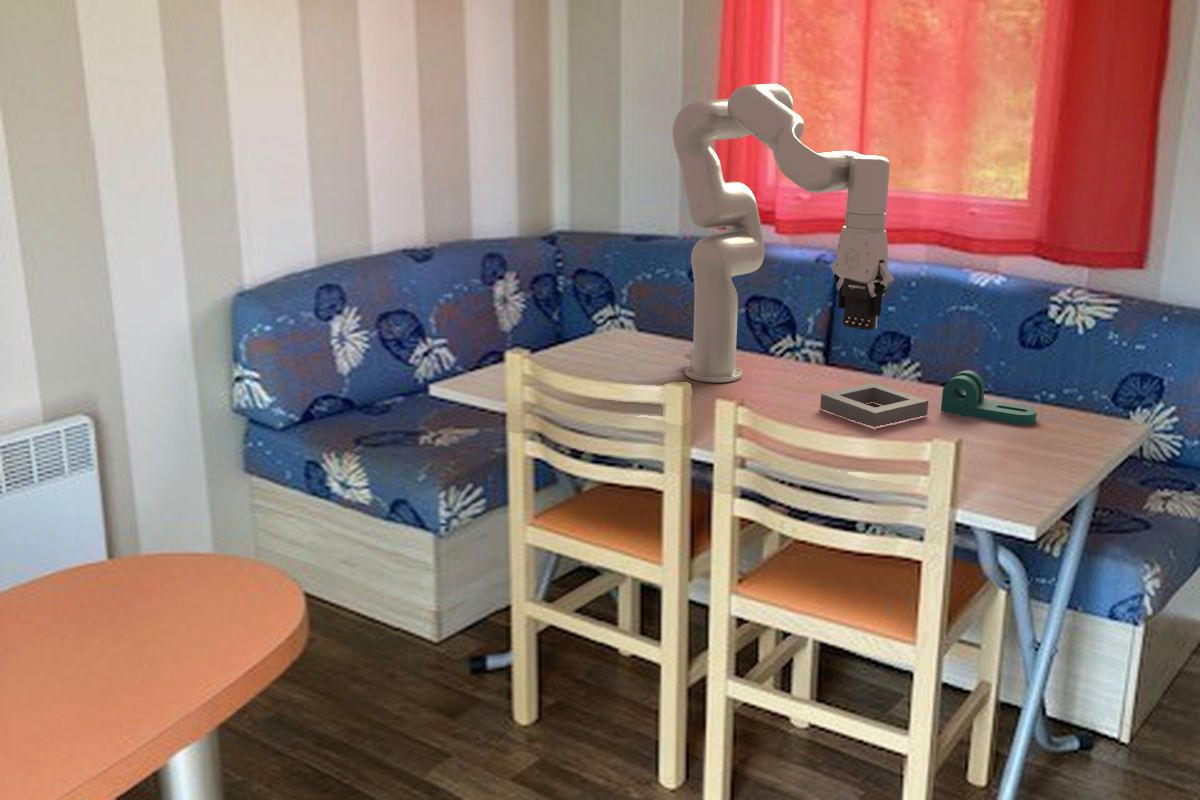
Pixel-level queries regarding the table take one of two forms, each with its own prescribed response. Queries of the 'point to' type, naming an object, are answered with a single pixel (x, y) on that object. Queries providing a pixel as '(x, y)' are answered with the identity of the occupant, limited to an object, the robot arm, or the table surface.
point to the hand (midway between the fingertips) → (859, 311)
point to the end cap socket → (894, 401)
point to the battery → (857, 305)
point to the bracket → (981, 401)
